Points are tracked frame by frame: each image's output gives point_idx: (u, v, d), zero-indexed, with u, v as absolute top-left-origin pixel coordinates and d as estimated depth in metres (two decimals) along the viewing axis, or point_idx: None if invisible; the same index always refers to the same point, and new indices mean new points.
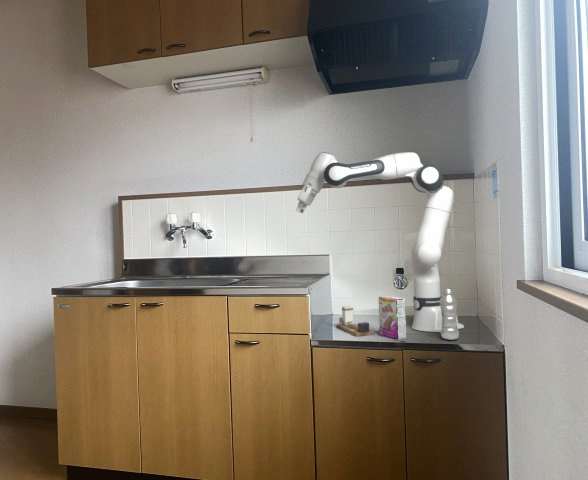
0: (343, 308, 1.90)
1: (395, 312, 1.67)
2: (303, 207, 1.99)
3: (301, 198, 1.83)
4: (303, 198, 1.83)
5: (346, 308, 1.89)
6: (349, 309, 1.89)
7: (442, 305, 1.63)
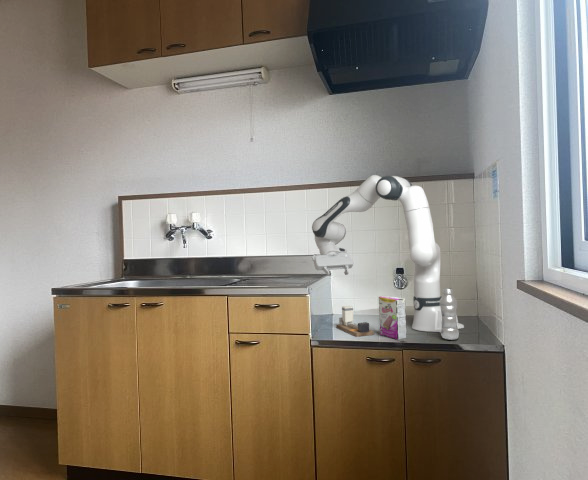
0: (343, 308, 1.90)
1: (395, 312, 1.67)
2: (346, 269, 2.09)
3: (316, 266, 2.06)
4: (316, 265, 2.05)
5: (346, 308, 1.89)
6: (349, 309, 1.89)
7: (442, 305, 1.63)
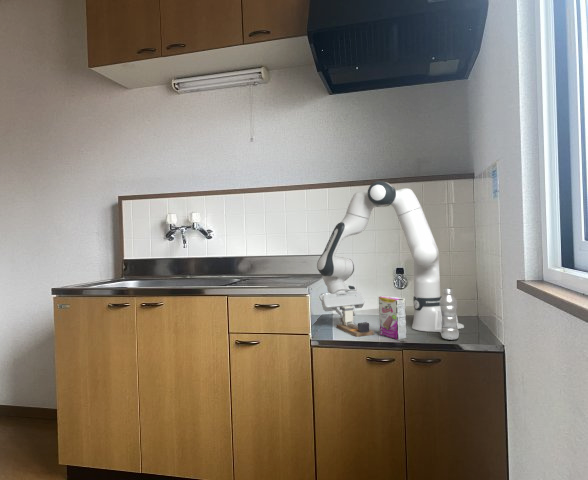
0: (343, 308, 1.90)
1: (395, 312, 1.67)
2: None
3: (324, 307, 1.91)
4: (324, 305, 1.91)
5: (346, 308, 1.89)
6: (349, 309, 1.89)
7: (442, 305, 1.63)
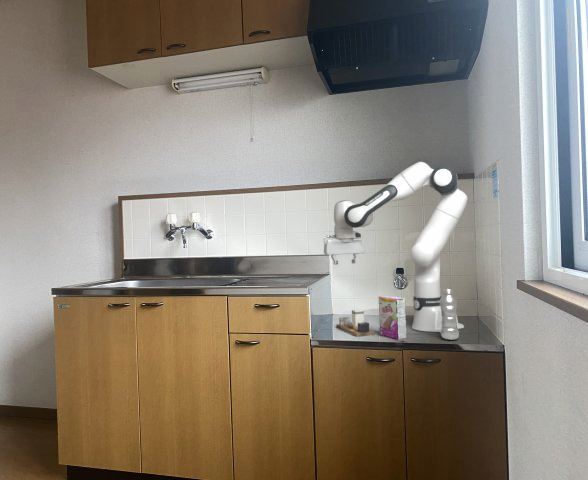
0: (353, 311, 1.81)
1: (395, 312, 1.67)
2: (354, 257, 2.00)
3: (324, 252, 1.95)
4: (325, 251, 1.94)
5: (356, 311, 1.79)
6: (359, 312, 1.80)
7: (442, 305, 1.63)
